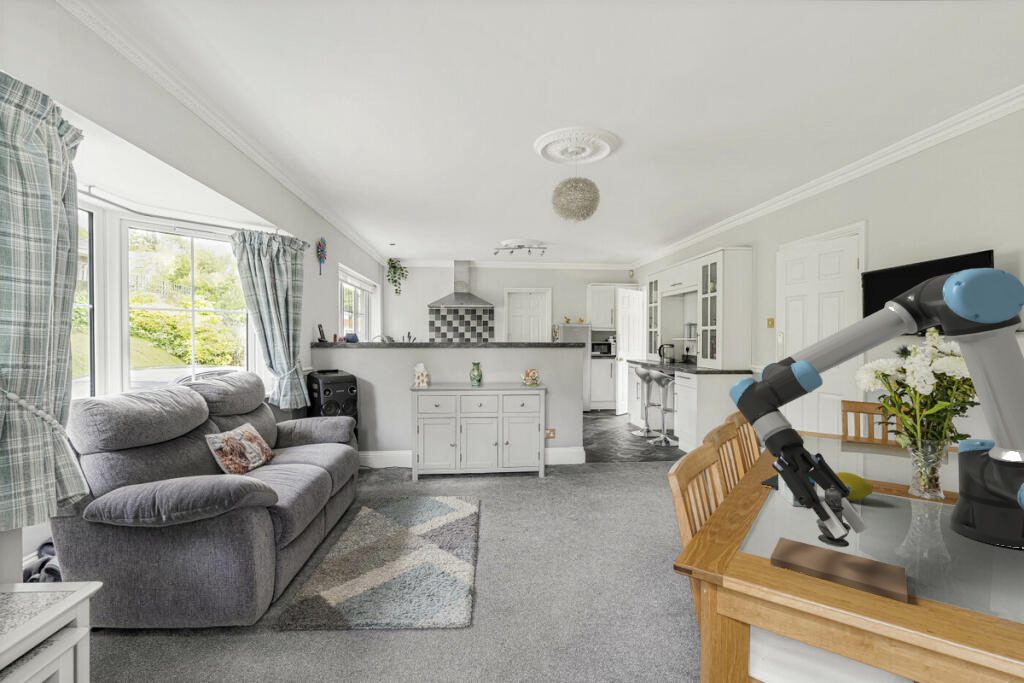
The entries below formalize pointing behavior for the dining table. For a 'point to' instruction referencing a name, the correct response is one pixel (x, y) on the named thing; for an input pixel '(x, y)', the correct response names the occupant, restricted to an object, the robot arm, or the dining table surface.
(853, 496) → the lemon
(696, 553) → the dining table surface
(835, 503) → the grey tall carved piece
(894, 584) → the walnut board
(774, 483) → the smart home device
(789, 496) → the light bulb box
